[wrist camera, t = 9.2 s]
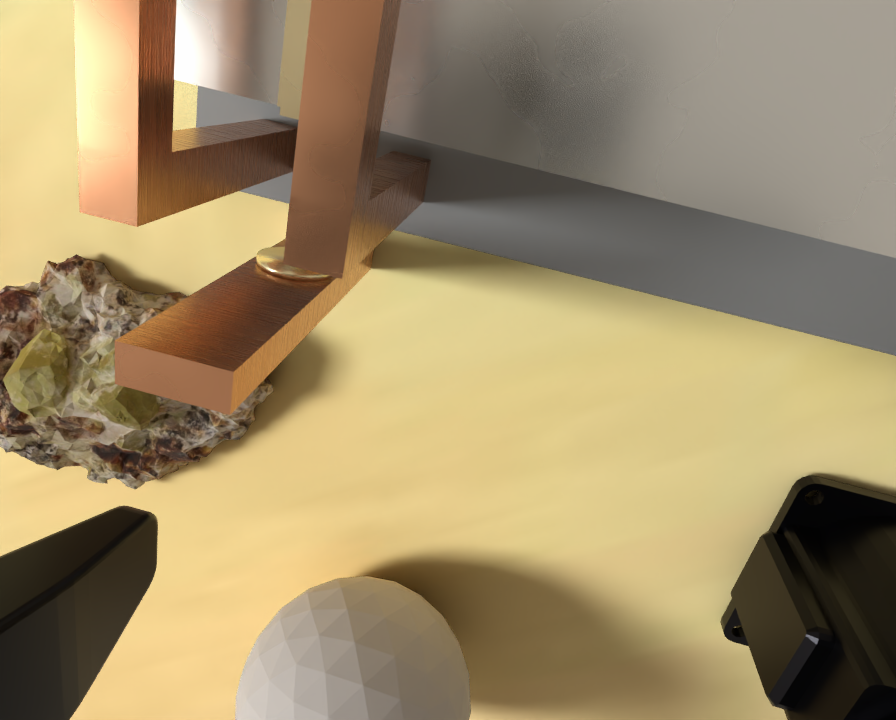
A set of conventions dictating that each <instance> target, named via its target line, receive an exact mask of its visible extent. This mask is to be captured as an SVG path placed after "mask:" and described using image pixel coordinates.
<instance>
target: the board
mask: <svg viewBox="0 0 896 720" xmlns="http://www.w3.org/2000/svg"><path fill="white" fill-rule="evenodd" d="M258 119H266V120H270V121H274V122H278V123H283V124H287V125H291V126H295V127H298V121H299V120H297V119H293V118H289V117H285V116H281V115H280V107H278V106H277V105H275V104H271V103H267V102H263V101H259V100H255V99H251V98H247V97H243V96H239V95H235V94H231V93H226V92H222V91H218V90H214V89H210V88H206V87H202V86H198V98H197V121H196V128H198V127H206V126H213V125H221V124H228V123H236V122H243V121H251V120H258ZM392 151H397V152H401V153H405V154H409V155H413V156H417V157H421V158H426V159H430V160H431V164H430V170H429V175H428V180H427V185H426V190H425V195H424V200H423V203H422V204H421V205H420V206H419V207H418V208H417V209H416V210H415V211H413V212H412V213H411V214H410V215H409V216H408V217H407V218H406V219H405V220H404V221H403V222H402V223H401V224H400V225H399V226H398V227H397V228H396V229H395V230H397V231H401V232H405V233H409V234H413V235H417V236H421V237H425V238H429V239H433V240H437V241H441V242H445V243H448V244H452V245H456V246H460V247H464V248H468V249H472V250H476V251H480V252H484V253H488V254H492V255H496V256H500V257H504V258H508V259H512V260H516V261H520V262H524V263H528V264H532V265H536V266H540V267H544V268H548V269H552V270H556V271H560V272H564V273H568V274H572V275H576V276H580V277H584V278H588V279H592V280H596V281H600V282H604V283H608V284H612V285H616V286H620V287H624V288H628V289H632V290H636V291H640V292H644V293H648V294H652V295H656V296H660V297H664V298H668V299H672V300H676V301H680V302H684V303H688V304H692V305H696V306H700V307H704V308H708V309H712V310H716V311H720V312H724V313H728V314H732V315H736V316H740V317H744V318H748V319H752V320H756V321H760V322H764V323H768V324H772V325H776V326H780V327H784V328H788V329H792V330H796V331H800V332H804V333H808V334H812V335H816V336H820V337H824V338H828V339H832V340H836V341H840V342H844V343H848V344H852V345H856V346H859V347H863V348H867V349H871V350H875V351H879V352H883V353H887V354H891V355H895V356H896V258H894V257H890V256H885V255H881V254H877V253H873V252H869V251H865V250H861V249H857V248H853V247H849V246H845V245H841V244H837V243H833V242H829V241H825V240H821V239H817V238H813V237H809V236H805V235H801V234H797V233H793V232H788V231H784V230H780V229H776V228H772V227H768V226H764V225H760V224H756V223H752V222H748V221H744V220H740V219H736V218H732V217H728V216H724V215H720V214H716V213H712V212H708V211H704V210H700V209H695V208H691V207H687V206H683V205H679V204H675V203H671V202H667V201H663V200H659V199H655V198H651V197H647V196H643V195H639V194H635V193H631V192H627V191H623V190H619V189H615V188H611V187H607V186H602V185H598V184H594V183H590V182H586V181H582V180H578V179H574V178H570V177H566V176H562V175H558V174H554V173H550V172H546V171H542V170H538V169H534V168H530V167H526V166H522V165H518V164H514V163H509V162H505V161H501V160H497V159H493V158H489V157H485V156H481V155H477V154H473V153H469V152H465V151H461V150H457V149H453V148H449V147H445V146H441V145H437V144H433V143H429V142H425V141H421V140H417V139H412V138H408V137H404V136H400V135H396V134H392V133H388V132H384V131H380V135H379V142H378V148H377V154H376V158H378V157H381V156H383V155H385V154H387V153H390V152H392ZM292 176H293V172H291V173H288V174H285V175H282V176H279V177H277V178H274V179H271V180H268V181H265V182H262V183H260V184H257V185H254V186H251V187H248V188H245V189H243V190H240V191H241V192H245V193H249V194H253V195H257V196H261V197H265V198H269V199H273V200H277V201H281V202H285V203H289V204H290V195H291V185H292Z"/></svg>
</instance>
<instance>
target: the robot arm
mask: <svg viewBox="0 0 896 720" xmlns="http://www.w3.org/2000/svg"><path fill="white" fill-rule="evenodd" d="M811 491H818V493H817V494H816V495H815V496H812V497H805V496H806V495H807V494H808V493H809V492H811ZM157 536H158V522H157V518H156V516H155V515H154V514H152V513H151V512H147V511H144V510H140V509H136V508H133V507H129V506H119V507H116V508H114V509H111V510H109V511H106V512H104V513H102V514H99V515H97V516H95V517H92V518H90V519H88V520H85V521H83V522H80V523H78V524H76V525H73V526H71V527H69V528H66V529H64V530H62V531H59V532H57V533H54V534H52V535H50V536H47V537H45V538H43V539H40V540H38V541H36V542H33V543H31V544H28V545H26V546H24V547H21V548H19V549H17V550H14V551H12V552H10V553H7V554H5V555H2V556H0V720H70V718H71V717H72V715H73V714H74V712H75V711H76V709H77V708H78V706H79V705H80V703H81V702H82V700H83V698H84V697H85V695H86V694H87V692H88V690H89V689H90V687H91V685H92V684H93V682H94V680H95V679H96V677H97V675H98V674H99V672H100V670H101V668H102V667H103V665H104V663H105V662H106V660H107V658H108V656H109V655H110V653H111V651H112V650H113V648H114V646H115V644H116V643H117V641H118V639H119V638H120V636H121V634H122V632H123V631H124V629H125V627H126V626H127V624H128V622H129V620H130V619H131V617H132V615H133V614H134V612H135V610H136V608H137V607H138V605H139V603H140V602H141V600H142V598H143V596H144V595H145V593H146V591H147V590H148V588H149V586H150V584H151V582H152V580H153V577H154V574H155V571H156V565H157ZM731 596H732V600H731V602H730V603H729V605H728V607H727V609H726V611H725V613H724V615H723V616H722V619H721V625H722V629H723V632H724V635H725V637H726V638H727V639H728V640H730V641H733V642H735V643H739V644H743V645H746V646H749V648H750V651H751V653H752V656H753V659H754V662H755V665H756V668H757V671H758V674H759V676H760V679H761V682H762V685H763V688H764V691H765V694H766V696H767V697H768V699H769V701H770V702H771V704H772V706H775V707H779V708H782V709H784V711H785V713H786V716H787V719H788V720H896V497H894V496H890V495H886V494H883V493H879V492H875V491H871V490H867V489H863V488H860V487H856V486H852V485H848V484H844V483H840V482H837V481H833V480H829V479H825V478H821V477H817V476H807V477H803V478H801V479H799V480H797V481H796V482H795V484H794V485H793V486H792V488H791V490H790V492H789V494H788V496H787V497H786V499H785V501H784V503H783V505H782V507H781V509H780V510H779V512H778V514H777V516H776V518H775V520H774V522H773V523H772V525H771V527H770V529H769V531H767V532H766V533H765V534H763V535H762V536H761V537H760V539H759V540H758V542H757V544H756V546H755V548H754V550H753V552H752V554H751V555H750V557H749V559H748V561H747V563H746V565H745V567H744V569H743V570H742V572H741V574H740V576H739V578H738V580H737V582H736V584H735V585H734V587H733V589H732V591H731ZM738 625H741V626H742V627H739V628H734V627H735V626H738Z"/></svg>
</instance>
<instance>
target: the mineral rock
mask: <svg viewBox="0 0 896 720" xmlns="http://www.w3.org/2000/svg"><path fill="white" fill-rule="evenodd" d="M187 297H189V296H186V295H184V294H182V293H180V292H175V293H166V294H165V295H157V294H153V293H147V292H139V291H135V290H133V289H131V287H129V286H127V285H125V284H124V283H123V282H122V281H117V280H116V279H115V278H113V277H112V276H111V274H110V273H109V271H108V270H107V269H106V267H105V265H104V263H101V262H96V261H91V260H87V259H84V258H82V257H80V256H78V255H77V254H76V255H75V256H73V257H72V258H67V260H66V261H64V262H62V263H58V264H56V263H53V262H50V261H48V262H47V264H46V266H45V269H44V271H43V274H42V277H41V281H40V282H39V283H35V282H31V283H28V284H26V285H25V286H17V287H14V286H6V287H4V288H3V289H2V290H0V447H2V448H3V449H4V450H5V451H6V452H11V451H13V452H15V453H17V454H19V455H20V456H23V457H25V458H27V459H29V460H31V461H33V462H35V463H36V464H40V465H45V466H47V467H49V468H54V469H57V470H58V469H60V468H62V467H65V466H81V467H84V468H86V469H87V470H88V475H87V478H88V479H89V480H91V481H94V482H98V483H107V480H108V479H111V478H114V477H115V478H116V479H119V480H120V481H122V482H123V483H124V484H125V485H126V486H128V487H131V488H133V489H137V488H138V487H140V486H141V485H143V484H144V483H145V481H146V482H147V481H150V480H154V479H156V478H157V479H160V478H161V477H163V476H164V475H165V474H167V473H169V472H175V471H177V470H178V469H179V466H181V465H187V464H188V463H189V462H199V460H200V458H201V457H206V456H207V455H209V454H210V453H211V451H212V449H213V447H215V446H216V445H217V444H219V443H220V442H222V441H223V440H238V439H240V438H241V437H242V436H243V435H244V433H245V432H246V431H247V430H248V428H249V426H250V424H251V423H252V422H253V421H255V416H254V408H255V406H256V405H258V404H259V403H261V402H264V400H265V398H266V397H267V395H269V394H270V393H272V392H274V390H273V385H271V383H270V381H269V380H268V379H267V378H265V379H264V380H263V381H262V382H261V383H260V384H259V386H258V387H257V388H256V389H255V390H254V391H253V392H252V393H251V394H250V395H249V396H248V397H247V398H246V399H245V400H244V401H243V402H242V403H241V404H240V405H239V406H238V407H237V408H236V409H235V410H234V412H233V413H232V414H231V415H228V414H225V413H221V412H217V411H214V410H210V409H206V408H202V407H199V406H195V405H191V404H187V403H184V402H180V401H176V400H172V399H169V398H165V397H161V396H158V395H154V394H150V393H146V392H143V391H139V390H135V389H131V388H128V387H124V386H120V385H116V384H115V340H116V339H118V338H120V337H121V336H123V335H125V334H126V333H128V332H130V331H132V330H133V329H135V328H137V327H138V326H140V325H142V324H143V323H145V322H147V321H148V320H150V319H152V318H153V317H155V316H157V315H158V314H160V313H162V312H163V311H165V310H167V309H168V308H170V307H172V306H174V305H175V304H177V303H179V302H180V301H182V300H184V299H185V298H187Z"/></svg>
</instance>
